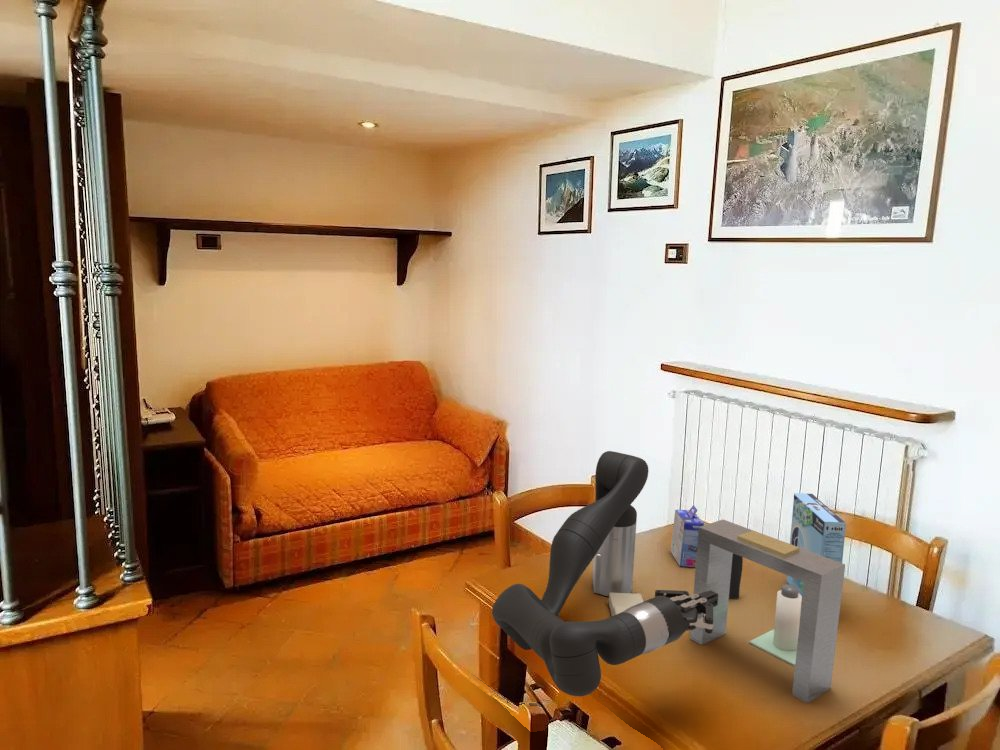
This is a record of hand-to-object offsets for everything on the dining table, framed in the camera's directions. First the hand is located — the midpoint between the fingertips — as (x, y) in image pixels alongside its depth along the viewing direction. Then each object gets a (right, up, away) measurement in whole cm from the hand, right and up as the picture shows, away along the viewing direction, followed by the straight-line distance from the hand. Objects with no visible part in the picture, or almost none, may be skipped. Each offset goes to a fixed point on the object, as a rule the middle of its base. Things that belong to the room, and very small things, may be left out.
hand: (714, 596), depth 127 cm
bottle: (+20, -15, +17) cm, 31 cm away
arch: (+12, -17, +12) cm, 23 cm away
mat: (+20, -16, +18) cm, 31 cm away
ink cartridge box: (+10, -9, +58) cm, 60 cm away
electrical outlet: (-11, -14, +25) cm, 30 cm away
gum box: (+34, -13, +38) cm, 53 cm away
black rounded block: (+14, -12, +39) cm, 44 cm away
